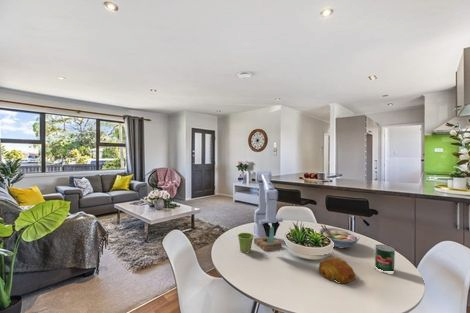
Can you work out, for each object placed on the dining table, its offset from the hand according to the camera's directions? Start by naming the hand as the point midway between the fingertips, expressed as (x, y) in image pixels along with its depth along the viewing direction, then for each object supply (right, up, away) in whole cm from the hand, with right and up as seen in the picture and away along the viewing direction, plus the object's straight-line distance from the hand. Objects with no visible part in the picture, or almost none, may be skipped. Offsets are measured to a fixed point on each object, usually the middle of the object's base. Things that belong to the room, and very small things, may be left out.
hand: (270, 235), depth 126 cm
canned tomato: (+53, -12, -15) cm, 57 cm away
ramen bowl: (+44, -11, +14) cm, 47 cm away
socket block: (0, -10, +12) cm, 15 cm away
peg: (0, -3, 0) cm, 3 cm away
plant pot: (-14, -10, +4) cm, 17 cm away
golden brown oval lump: (+28, -12, -21) cm, 36 cm away
